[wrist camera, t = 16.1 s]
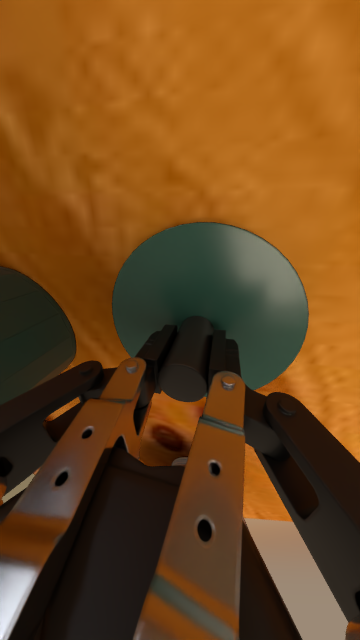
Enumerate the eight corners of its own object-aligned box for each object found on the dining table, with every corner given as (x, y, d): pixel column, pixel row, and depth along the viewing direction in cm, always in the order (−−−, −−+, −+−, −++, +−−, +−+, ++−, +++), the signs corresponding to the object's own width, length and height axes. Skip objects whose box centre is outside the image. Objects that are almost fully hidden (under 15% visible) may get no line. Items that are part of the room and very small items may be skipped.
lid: (177, 166, 9) (111, 79, 4) (353, 316, 10) (483, 403, 5) (98, 327, 16) (35, 375, 11) (211, 407, 17) (204, 484, 12)
